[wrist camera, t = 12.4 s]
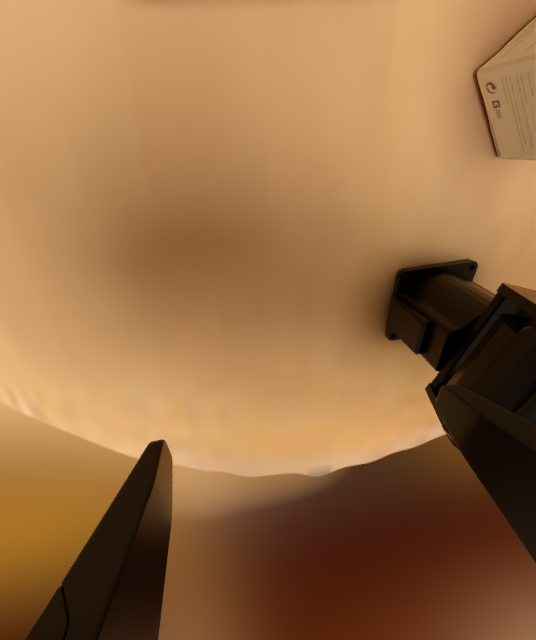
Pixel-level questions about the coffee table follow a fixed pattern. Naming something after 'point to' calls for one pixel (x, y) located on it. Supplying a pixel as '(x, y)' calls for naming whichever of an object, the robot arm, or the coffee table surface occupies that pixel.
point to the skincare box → (512, 96)
